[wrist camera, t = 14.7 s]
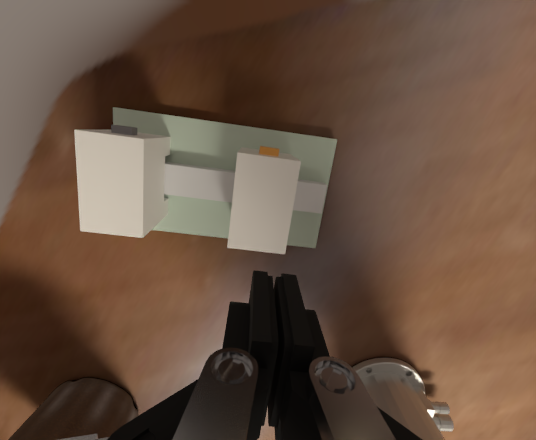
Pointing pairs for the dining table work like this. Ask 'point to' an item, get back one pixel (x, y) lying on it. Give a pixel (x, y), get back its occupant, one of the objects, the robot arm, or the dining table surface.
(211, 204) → the din panel
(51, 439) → the plant pot
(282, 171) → the block
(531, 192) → the dining table surface
